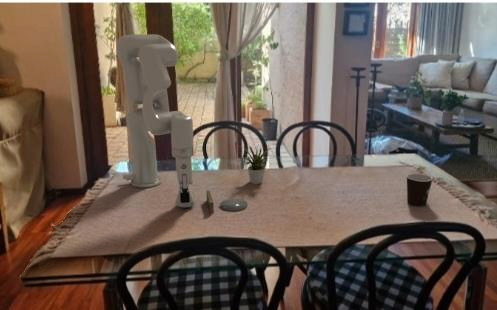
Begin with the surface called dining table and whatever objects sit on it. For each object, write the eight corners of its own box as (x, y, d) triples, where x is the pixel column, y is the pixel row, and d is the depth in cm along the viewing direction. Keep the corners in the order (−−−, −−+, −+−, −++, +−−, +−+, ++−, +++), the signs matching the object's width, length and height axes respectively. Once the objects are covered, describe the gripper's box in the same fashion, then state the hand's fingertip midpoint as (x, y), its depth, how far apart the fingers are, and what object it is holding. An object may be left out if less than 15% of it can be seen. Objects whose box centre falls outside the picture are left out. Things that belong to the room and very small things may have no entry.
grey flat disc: (222, 212, 149) (221, 210, 149) (218, 201, 158) (218, 200, 158) (249, 209, 151) (249, 208, 150) (244, 199, 160) (244, 197, 160)
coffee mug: (417, 209, 149) (420, 182, 146) (399, 201, 156) (401, 175, 154) (440, 203, 154) (443, 177, 151) (421, 195, 162) (424, 170, 159)
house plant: (230, 185, 175) (229, 146, 170) (243, 174, 187) (243, 138, 182) (263, 189, 170) (263, 150, 165) (274, 178, 182) (274, 141, 177)
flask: (191, 209, 150) (190, 182, 146) (171, 207, 151) (170, 180, 148) (197, 200, 156) (196, 175, 153) (178, 199, 158) (177, 173, 155)
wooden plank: (210, 213, 148) (209, 202, 147) (206, 200, 159) (206, 190, 158) (213, 213, 148) (213, 202, 147) (210, 200, 160) (209, 190, 158)
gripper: (195, 158, 140) (197, 208, 146) (191, 143, 156) (193, 189, 162) (172, 159, 139) (174, 210, 144) (171, 144, 155) (173, 191, 160)
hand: (184, 198), depth 153 cm, fingers closed on flask, 4 cm apart
